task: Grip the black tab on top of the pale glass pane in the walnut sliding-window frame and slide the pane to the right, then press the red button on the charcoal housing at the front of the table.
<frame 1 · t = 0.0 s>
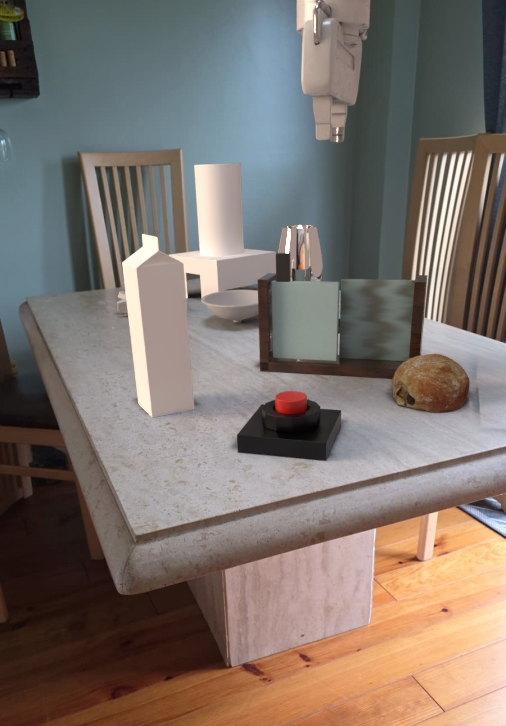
hand: (330, 141, 81), 32 cm above the table, tool pointing down, fingers open, 8 cm apart
bread roll: (429, 400, 83), on the table
bunny figurine: (139, 313, 140), on the table
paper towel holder: (224, 295, 158), on the table
window frame: (339, 369, 97), on the table
dish: (237, 322, 129), on the table
button box: (291, 439, 73), on the table
milk: (166, 408, 84), on the table
window: (305, 307, 93), point 10 cm above the table, slide at 0.0 cm
cell phone: (358, 326, 122), on the table
wineglass: (299, 347, 109), on the table
button: (291, 403, 71), point 4 cm above the table, slide at 0.1 cm
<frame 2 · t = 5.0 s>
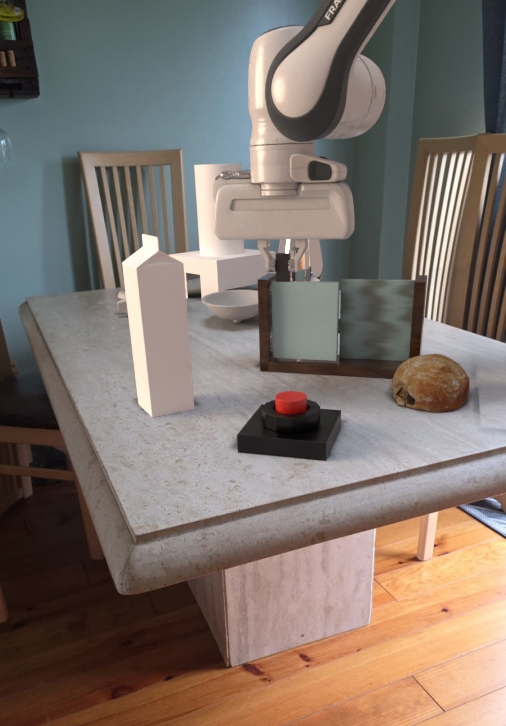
hand: (283, 271, 92), 15 cm above the table, tool pointing down, fingers closed on window, 2 cm apart
window: (305, 307, 93), point 10 cm above the table, slide at 0.0 cm, touching gripper
everything else where it was.
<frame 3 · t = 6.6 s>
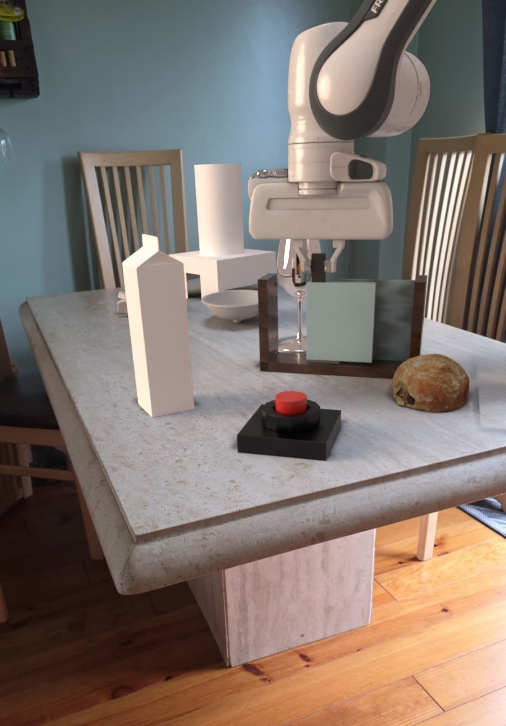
hand: (318, 272, 90), 15 cm above the table, tool pointing down, fingers closed on window, 2 cm apart
window: (340, 308, 91), point 10 cm above the table, slide at 5.3 cm, touching gripper
everything else where it was.
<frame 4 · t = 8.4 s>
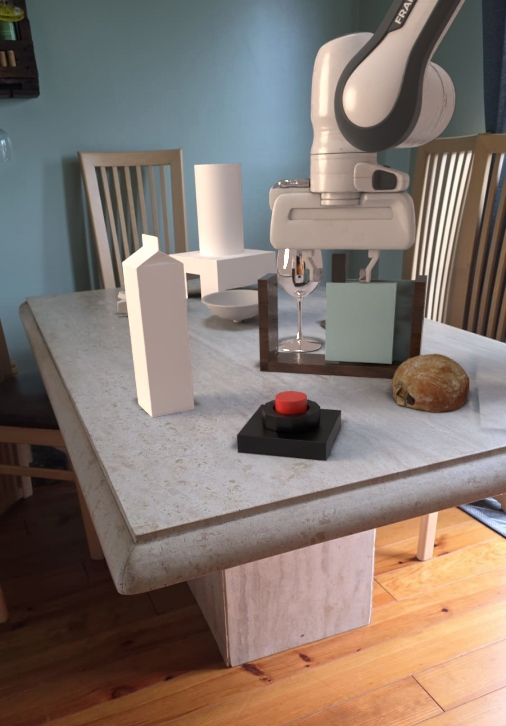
hand: (340, 281, 90), 14 cm above the table, tool pointing down, fingers open, 6 cm apart
window: (360, 309, 91), point 10 cm above the table, slide at 8.2 cm, touching gripper
everything else where it was.
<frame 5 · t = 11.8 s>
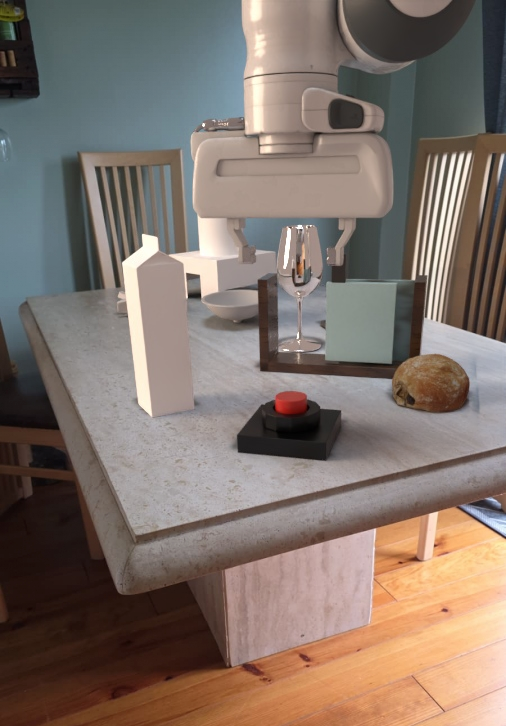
hand: (290, 264, 65), 20 cm above the table, tool pointing down, fingers open, 8 cm apart
window: (360, 309, 91), point 10 cm above the table, slide at 8.3 cm
everything else where it was.
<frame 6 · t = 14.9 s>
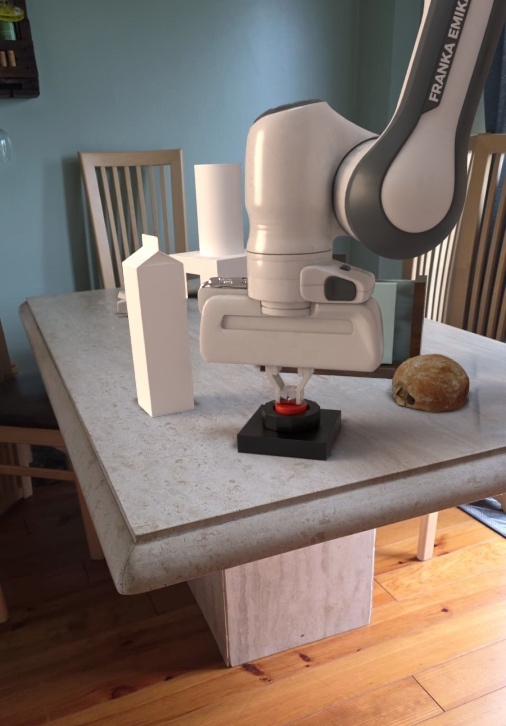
hand: (289, 402, 71), 5 cm above the table, tool pointing down, fingers closed, pressing on button
button: (291, 410, 71), point 4 cm above the table, slide at -0.8 cm, touching gripper
everything else where it was.
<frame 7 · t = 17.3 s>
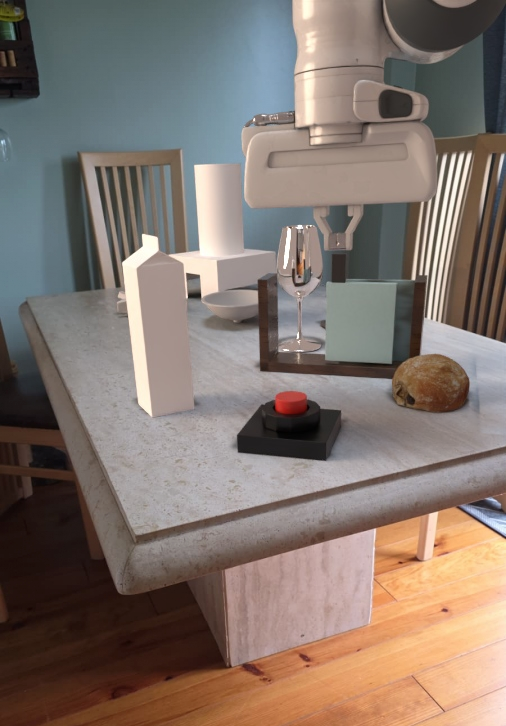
hand: (338, 250, 68), 20 cm above the table, tool pointing down, fingers closed
button: (291, 403, 71), point 4 cm above the table, slide at 0.1 cm
everything else where it was.
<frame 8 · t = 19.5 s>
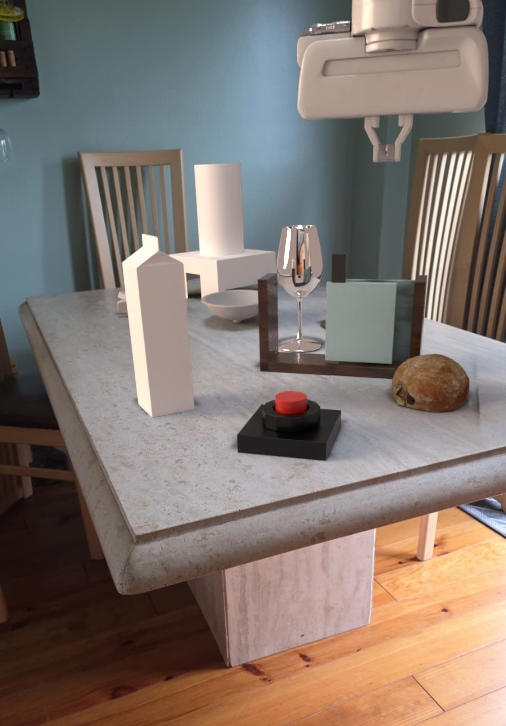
hand: (386, 162, 70), 29 cm above the table, tool pointing down, fingers closed
nothing on the table moved.
at the end: window slide at 8.3 cm; button pushed in 1.0 cm at the most during the clip, back to where it started at the end; button slide at 0.1 cm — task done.
